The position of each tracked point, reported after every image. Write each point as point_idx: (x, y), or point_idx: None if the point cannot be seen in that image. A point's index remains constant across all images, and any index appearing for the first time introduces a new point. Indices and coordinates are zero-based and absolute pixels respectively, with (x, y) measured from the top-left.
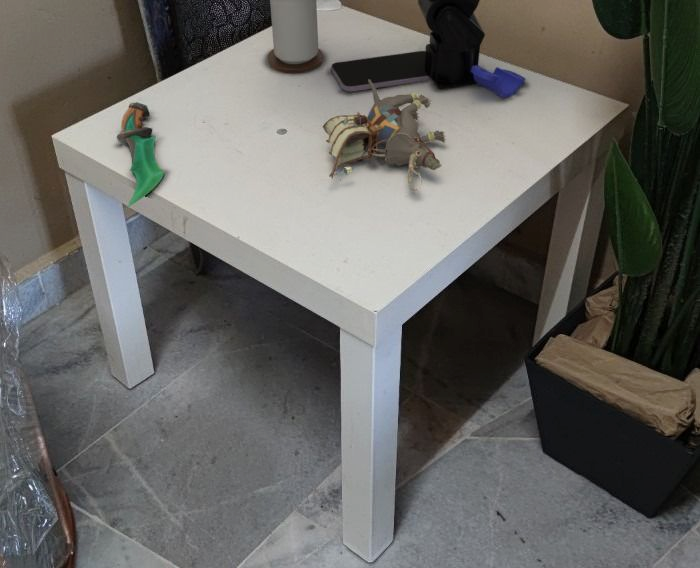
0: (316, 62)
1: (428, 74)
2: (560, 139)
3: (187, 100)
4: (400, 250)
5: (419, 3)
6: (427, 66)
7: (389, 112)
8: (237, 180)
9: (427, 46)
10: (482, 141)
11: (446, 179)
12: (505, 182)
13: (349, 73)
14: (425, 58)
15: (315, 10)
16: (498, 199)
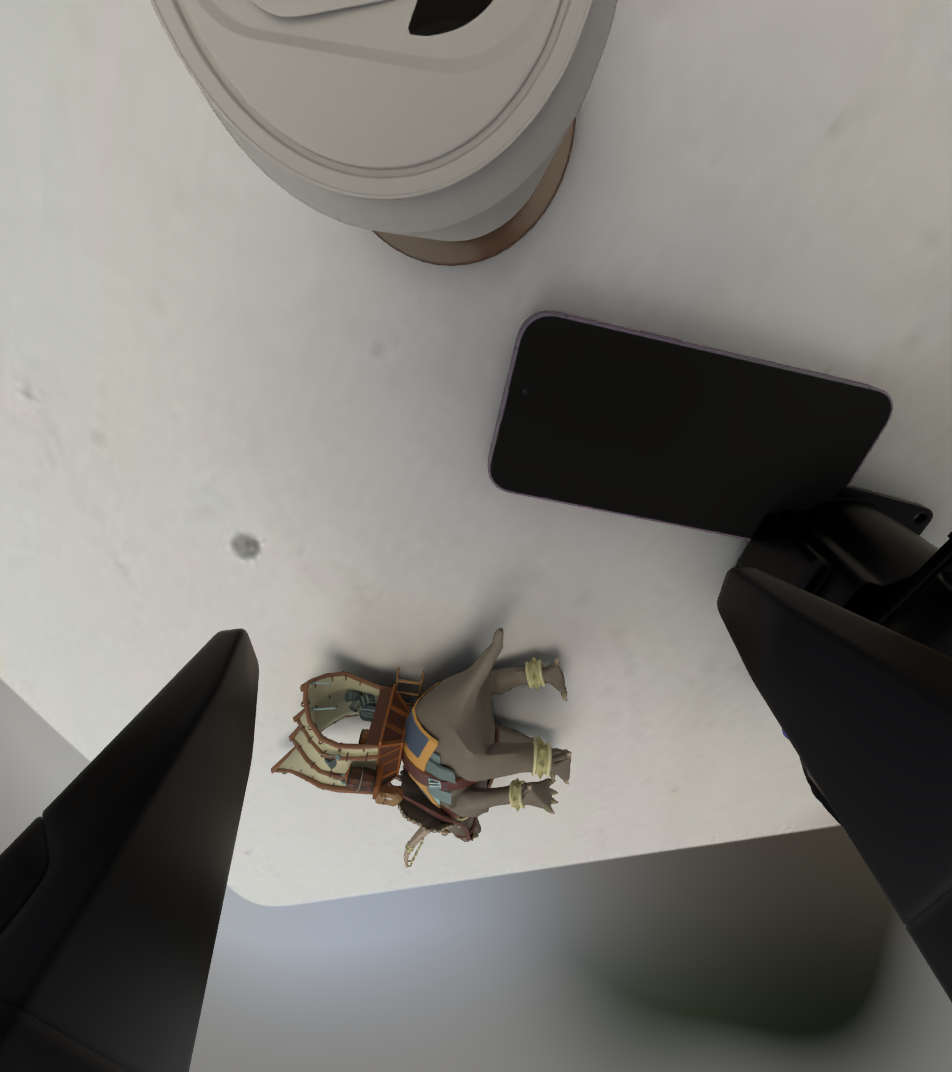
0: (499, 241)
1: (748, 548)
2: (755, 816)
3: None
4: (331, 867)
5: (926, 638)
6: (765, 548)
7: (442, 786)
8: (106, 648)
9: (808, 574)
10: (631, 764)
11: None
12: (571, 843)
13: (547, 415)
14: (786, 538)
15: (529, 188)
16: (529, 860)
